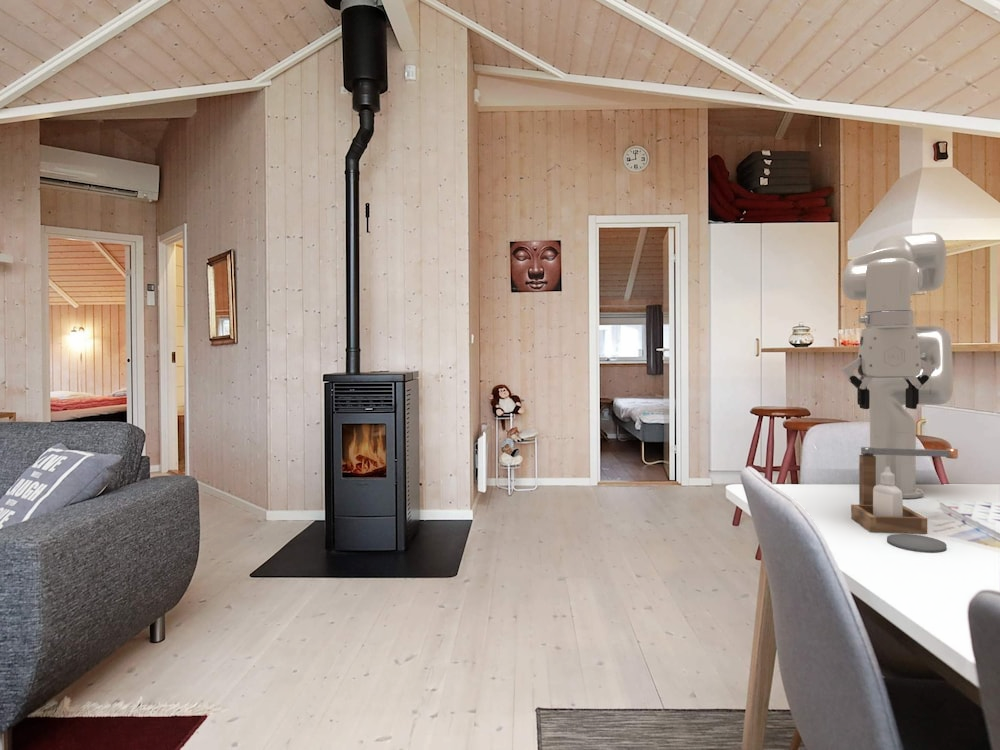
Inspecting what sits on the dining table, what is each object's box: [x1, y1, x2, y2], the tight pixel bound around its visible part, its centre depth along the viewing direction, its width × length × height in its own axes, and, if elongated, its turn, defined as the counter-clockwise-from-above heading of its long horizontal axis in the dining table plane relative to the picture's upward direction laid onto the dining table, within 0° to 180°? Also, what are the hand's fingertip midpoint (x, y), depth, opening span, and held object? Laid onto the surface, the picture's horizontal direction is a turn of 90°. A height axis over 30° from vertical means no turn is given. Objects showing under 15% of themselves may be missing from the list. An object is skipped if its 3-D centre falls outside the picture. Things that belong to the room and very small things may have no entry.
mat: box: [886, 533, 947, 553], centre depth 111 cm, size 9×9×1 cm
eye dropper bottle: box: [873, 467, 904, 517], centre depth 123 cm, size 4×6×12 cm
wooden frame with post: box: [850, 454, 928, 535], centre depth 126 cm, size 16×10×13 cm, turn 169°
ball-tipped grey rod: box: [860, 446, 959, 460], centre depth 130 cm, size 18×2×2 cm, turn 71°
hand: (887, 408), depth 122 cm, fingers open, 8 cm apart
